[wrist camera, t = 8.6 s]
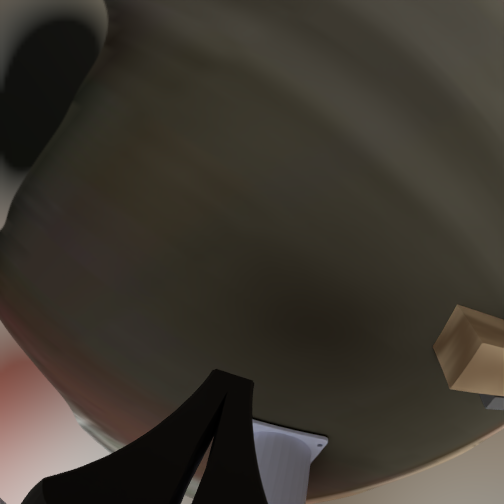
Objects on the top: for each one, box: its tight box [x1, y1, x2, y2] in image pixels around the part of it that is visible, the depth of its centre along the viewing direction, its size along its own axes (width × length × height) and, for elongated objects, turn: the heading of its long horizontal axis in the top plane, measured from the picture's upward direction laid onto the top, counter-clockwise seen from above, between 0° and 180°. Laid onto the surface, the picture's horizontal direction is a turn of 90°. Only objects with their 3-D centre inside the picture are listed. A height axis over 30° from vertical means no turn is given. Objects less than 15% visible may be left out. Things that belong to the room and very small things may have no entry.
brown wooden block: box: [433, 304, 504, 396], centre depth 15 cm, size 4×10×4 cm, turn 76°
